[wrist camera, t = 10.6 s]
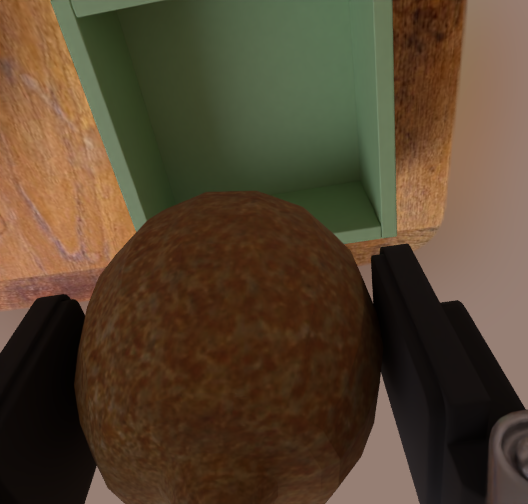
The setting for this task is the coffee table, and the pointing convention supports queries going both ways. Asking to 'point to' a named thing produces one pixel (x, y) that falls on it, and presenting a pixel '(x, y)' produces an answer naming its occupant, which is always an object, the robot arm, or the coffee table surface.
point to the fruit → (229, 357)
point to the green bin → (244, 102)
